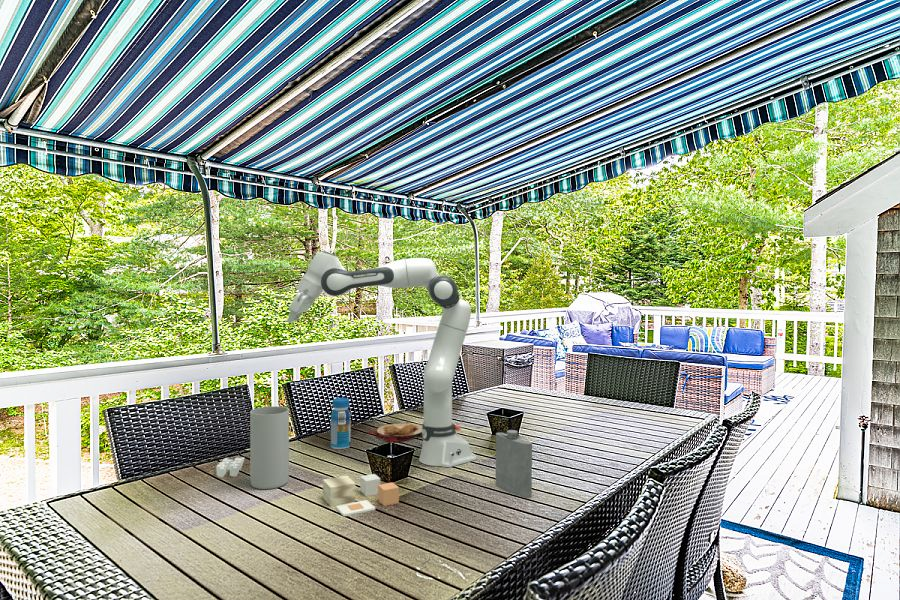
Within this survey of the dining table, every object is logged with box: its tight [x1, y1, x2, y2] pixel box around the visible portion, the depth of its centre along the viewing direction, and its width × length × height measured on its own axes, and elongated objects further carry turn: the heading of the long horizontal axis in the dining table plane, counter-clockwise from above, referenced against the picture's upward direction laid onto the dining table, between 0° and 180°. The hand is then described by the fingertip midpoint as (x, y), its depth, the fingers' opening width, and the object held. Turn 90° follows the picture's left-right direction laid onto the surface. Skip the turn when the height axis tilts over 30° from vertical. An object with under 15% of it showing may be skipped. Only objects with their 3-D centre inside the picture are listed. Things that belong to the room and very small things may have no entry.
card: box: [335, 499, 376, 517], centre depth 168 cm, size 10×7×1 cm
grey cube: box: [359, 473, 381, 497], centre depth 182 cm, size 5×5×5 cm
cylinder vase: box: [249, 406, 290, 490], centre depth 189 cm, size 12×12×25 cm
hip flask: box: [495, 429, 533, 499], centre depth 185 cm, size 16×4×20 cm, turn 37°
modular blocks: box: [216, 456, 245, 478], centre depth 205 cm, size 20×7×4 cm, turn 10°
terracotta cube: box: [377, 481, 400, 507], centre depth 174 cm, size 5×5×5 cm
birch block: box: [322, 475, 356, 507], centre depth 176 cm, size 8×8×6 cm
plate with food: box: [367, 421, 423, 443], centre depth 254 cm, size 25×26×4 cm
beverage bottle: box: [330, 397, 352, 450], centre depth 232 cm, size 8×8×20 cm
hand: (291, 321), depth 211 cm, fingers open, 8 cm apart
